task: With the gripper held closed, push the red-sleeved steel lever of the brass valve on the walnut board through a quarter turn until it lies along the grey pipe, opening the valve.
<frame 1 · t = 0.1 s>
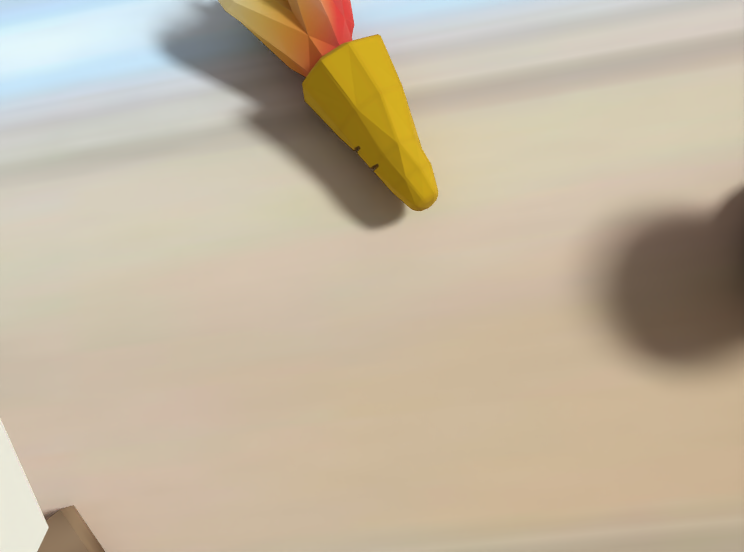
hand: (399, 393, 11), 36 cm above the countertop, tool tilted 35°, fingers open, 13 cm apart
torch: (336, 100, 52), on the countertop
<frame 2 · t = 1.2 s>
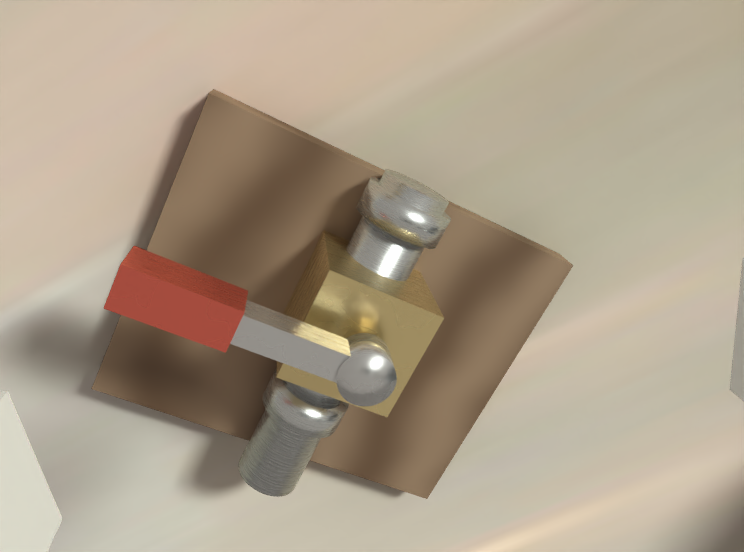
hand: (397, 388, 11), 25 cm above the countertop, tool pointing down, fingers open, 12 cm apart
valve pipe: (338, 352, 33), point 5 cm above the countertop
mounting board: (332, 311, 38), on the countertop
valve lever: (262, 330, 27), point 10 cm above the countertop, hinge at 0.0°
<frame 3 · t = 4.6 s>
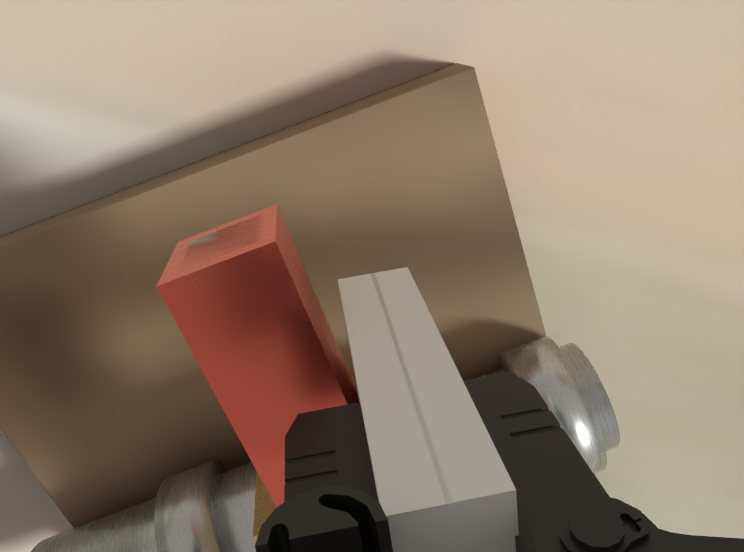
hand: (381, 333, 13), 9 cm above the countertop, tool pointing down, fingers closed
valve pipe: (325, 522, 20), point 5 cm above the countertop
mounting board: (317, 426, 24), on the countertop
valve lever: (345, 497, 13), point 10 cm above the countertop, hinge at 0.0°, touching gripper
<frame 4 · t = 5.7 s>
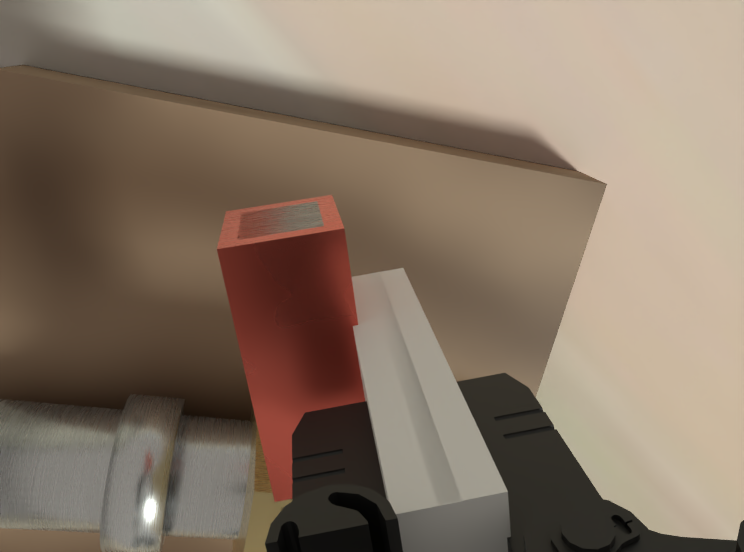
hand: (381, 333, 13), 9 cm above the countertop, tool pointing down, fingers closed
valve pipe: (275, 509, 19), point 5 cm above the countertop
mounting board: (274, 414, 24), on the countertop
valve lever: (331, 499, 13), point 10 cm above the countertop, hinge at 18.8°, touching gripper
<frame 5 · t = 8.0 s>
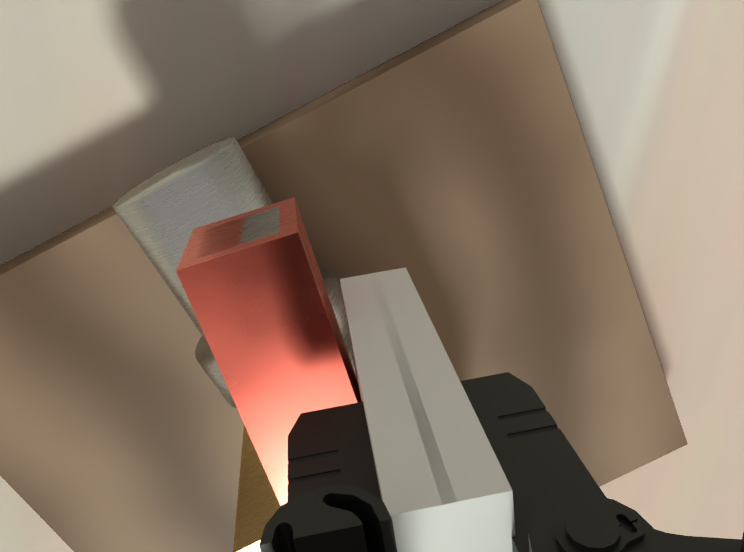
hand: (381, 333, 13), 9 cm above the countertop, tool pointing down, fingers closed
valve pipe: (344, 457, 19), point 5 cm above the countertop
mounting board: (331, 371, 24), on the countertop
valve lever: (343, 494, 13), point 10 cm above the countertop, hinge at 79.8°, touching gripper
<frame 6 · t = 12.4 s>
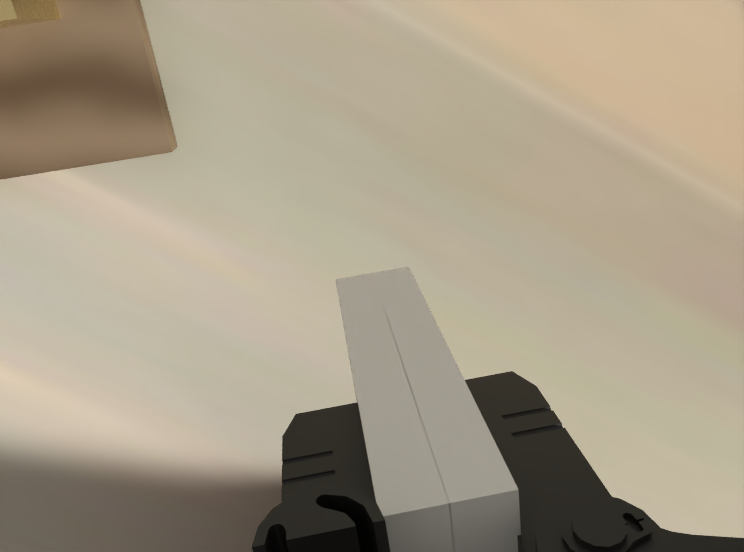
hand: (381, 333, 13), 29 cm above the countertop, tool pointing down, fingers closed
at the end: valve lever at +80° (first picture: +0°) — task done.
